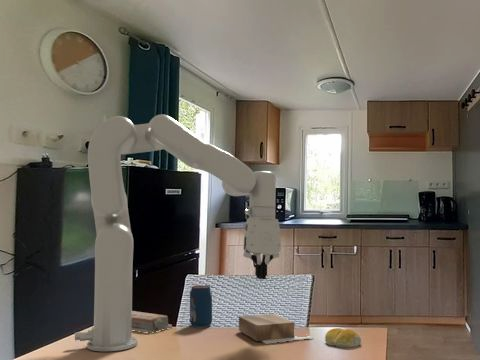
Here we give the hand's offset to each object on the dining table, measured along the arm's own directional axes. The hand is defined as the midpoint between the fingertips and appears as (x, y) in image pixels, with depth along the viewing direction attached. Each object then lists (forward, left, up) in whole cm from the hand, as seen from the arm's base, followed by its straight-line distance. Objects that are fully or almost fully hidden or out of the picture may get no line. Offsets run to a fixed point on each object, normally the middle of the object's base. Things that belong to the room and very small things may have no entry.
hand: (261, 278), depth 130 cm
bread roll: (+16, -16, -16) cm, 28 cm away
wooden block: (-4, 0, -13) cm, 14 cm away
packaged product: (-30, +24, -17) cm, 42 cm away
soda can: (-12, +20, -16) cm, 28 cm away
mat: (+4, 0, -16) cm, 16 cm away
